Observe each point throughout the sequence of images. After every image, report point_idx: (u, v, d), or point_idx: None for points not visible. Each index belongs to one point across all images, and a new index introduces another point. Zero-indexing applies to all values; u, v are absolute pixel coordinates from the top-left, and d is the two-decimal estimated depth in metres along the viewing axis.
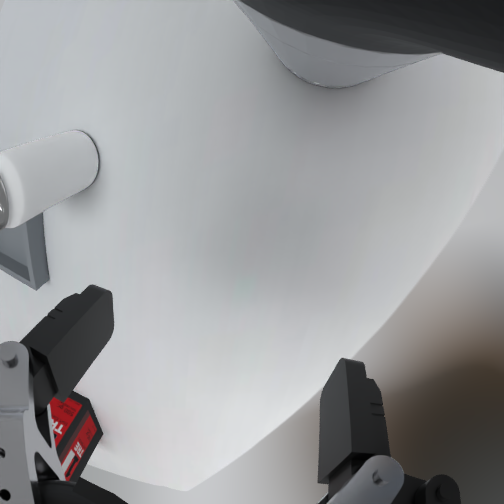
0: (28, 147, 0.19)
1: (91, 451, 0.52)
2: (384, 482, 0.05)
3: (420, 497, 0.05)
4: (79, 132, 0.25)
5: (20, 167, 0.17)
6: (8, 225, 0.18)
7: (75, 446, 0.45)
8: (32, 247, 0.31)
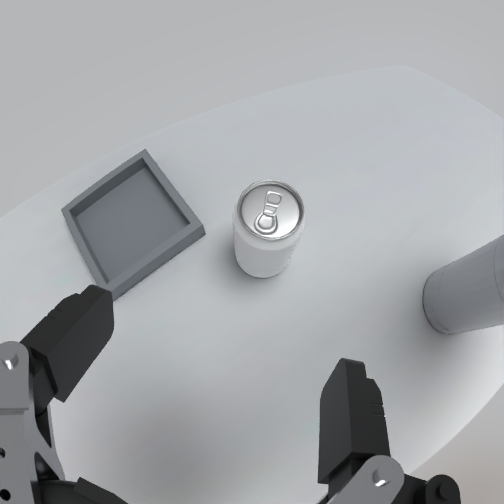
0: None
1: None
2: (384, 482, 0.05)
3: (420, 497, 0.05)
4: None
5: None
6: (263, 241, 0.26)
7: None
8: (149, 264, 0.34)
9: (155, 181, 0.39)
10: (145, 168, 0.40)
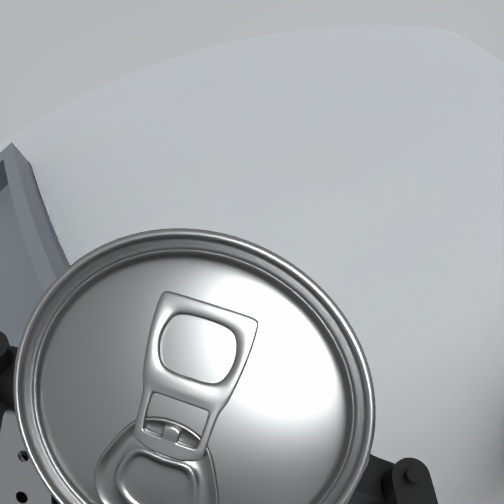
0: None
1: None
2: None
3: (387, 483, 0.05)
4: None
5: None
6: None
7: None
8: None
9: None
10: None
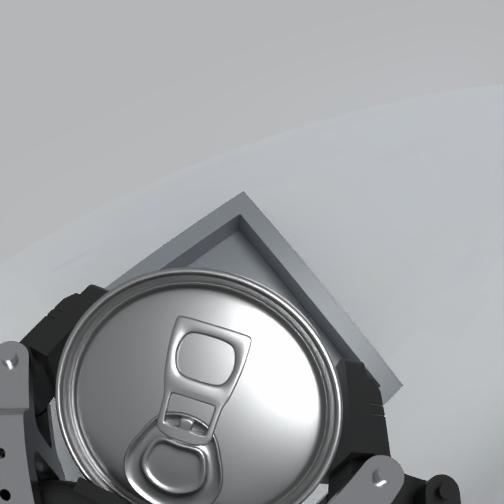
0: None
1: None
2: (384, 482, 0.05)
3: (420, 497, 0.05)
4: None
5: None
6: None
7: None
8: None
9: (268, 269, 0.18)
10: (236, 233, 0.19)
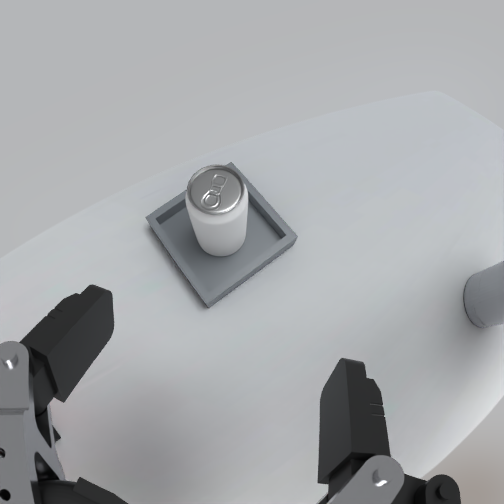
0: None
1: None
2: (384, 482, 0.05)
3: (420, 497, 0.05)
4: None
5: (247, 201, 0.32)
6: (208, 216, 0.29)
7: None
8: (249, 273, 0.38)
9: None
10: None
